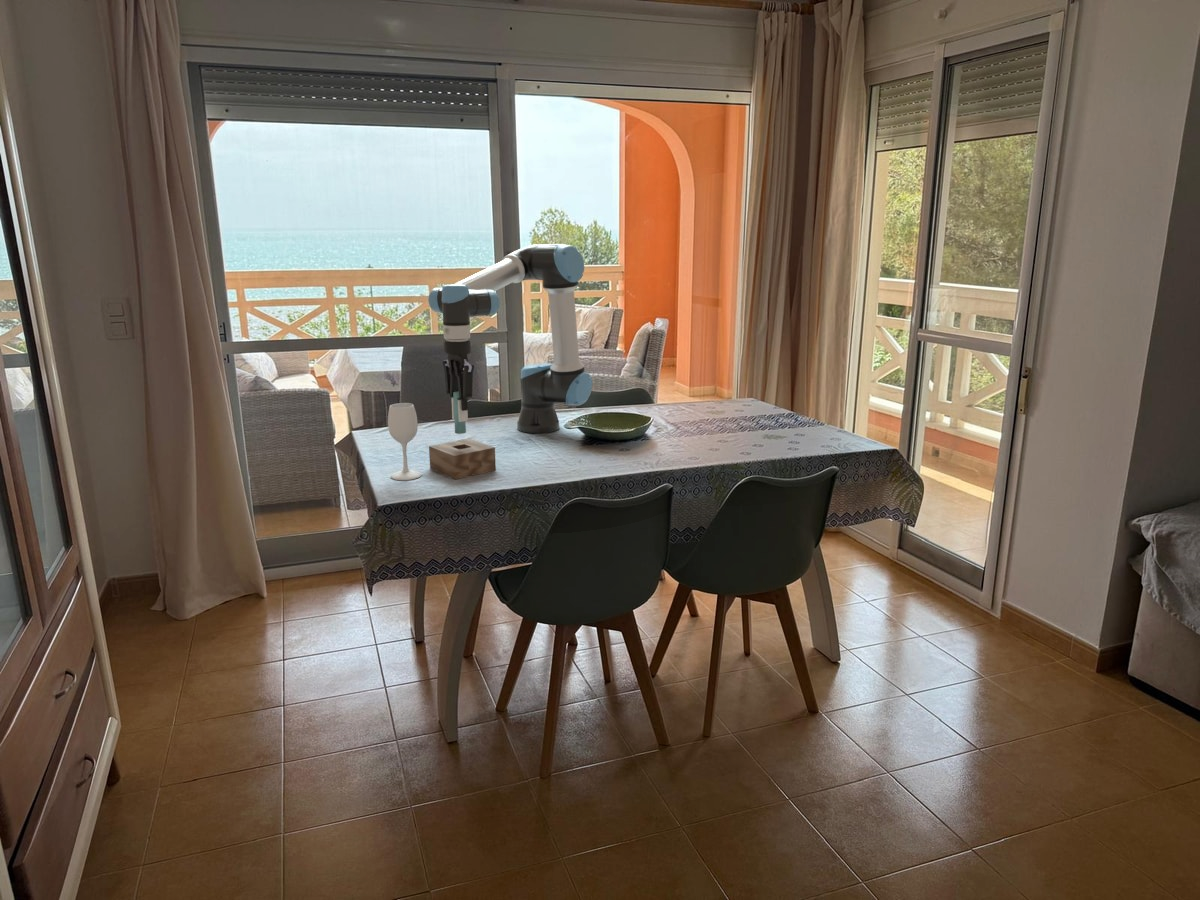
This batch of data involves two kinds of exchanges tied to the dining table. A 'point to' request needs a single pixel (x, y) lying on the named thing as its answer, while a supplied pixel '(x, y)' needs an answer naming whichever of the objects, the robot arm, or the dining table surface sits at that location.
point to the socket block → (462, 458)
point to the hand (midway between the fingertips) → (460, 419)
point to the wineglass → (403, 434)
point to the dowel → (459, 426)
